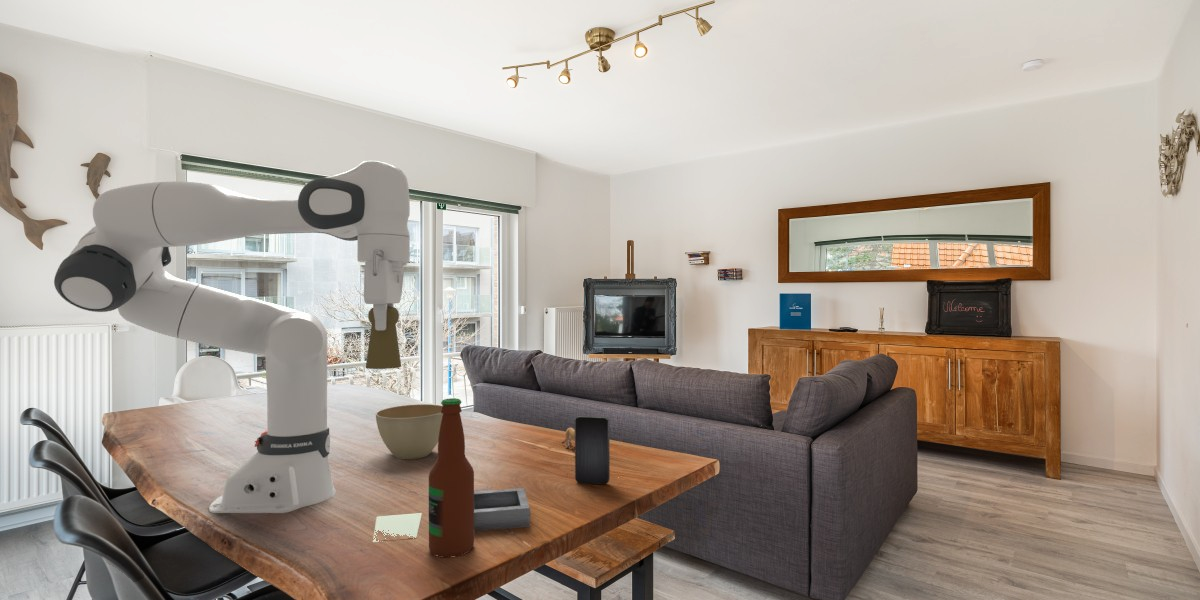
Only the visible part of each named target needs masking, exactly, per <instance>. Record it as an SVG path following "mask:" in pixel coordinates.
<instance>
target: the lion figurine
mask: <svg viewBox="0 0 1200 600" xmlns="http://www.w3.org/2000/svg"><path fill="white" fill-rule="evenodd" d="M571 441H573V442H575V428H573V427H568V428H567V429H566V431H565V439H564V440H563V441H561V444H562V445H564V444H565V449H569V448H570V447H569V446H572V442H571Z"/></svg>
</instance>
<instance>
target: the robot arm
mask: <svg viewBox="0 0 1200 600" xmlns="http://www.w3.org/2000/svg"><path fill="white" fill-rule="evenodd" d="M409 190H410V187H409V183H408V178H407V176H406V174H405V173H404V172H403V171H402V170H401V169H400V168H398V167H397V166H396V165H392V164H389V163H387V162H384V161H378V160H364V161H362V162H361V163H359V164H358V165H357V166H356V167H354V168H352V169H350V170H348V171H345V172H342V173H339V174H335V175H331V176H327V177H318V178H315V179H312V180H310V181H309V182H307V183H306V184H305V185H304V186H303V187H302V189H301V190H300V192H299V194H298V198H297V199H282V200H281V199H280V200H279V199H276V200H272V199H262V198H257V197H254V196H249V195H245V194H241V193H239V192H237V191H232V190H230V189H227V188H224V187H221V186H217V185H213V184H210V183H209V184H208V183H203V182H202V183H201V182H195V181H177V180H176V181H160V182H159V181H158V182H145V183H139V184H131V185H126V186H120V187H117V188H113V189H109V190H106V191H104V192H102V193H101V194H100V195H99V196H98V197H97V198H96V200H95V202H94V204H93V207H92V217H93V222H94V224H95V226H94V227H91V229H90V230H88V231H87V232H86V233H85V234H84V235H83V236H82V237H81V238H80V239H79V241H78V243H77V245H75V246H74V248H73V249H72V251H71V252H70V254H68V256H67V257H66V258H65V259H63V260H62V262H61V263H60V264H59V266H58V268H57V270H56V272H55V275H54V280H53V284H54V288H55V291H56V292H57V293H58V295H59V296H60V297H61V298H62V299H63V300H64V301H65V302H67V303H69V304H70V305H72V306H74V307H77V308H78V309H81V310H84V311H87V312H88V311H89V312H95V313H106V312H112V311H115V310H117V311H118V314H119V315H120V316H121V317H122V319H124V320H125V321H127V322H129V323H131V324H134V325H136V326H138V327H141V328H144V329H147V330H150V331H153V332H155V333H158V334H161V335H165V336H168V337H172V338H176V339H181V340H184V341H188V342H193V343H196V344H201V345H205V346H209V347H214V348H217V349H222V350H228V351H234V352H241V353H242V352H243V353H245V354H247V353H248V354H251V355H259V356H263V357H265V359H264V360H265V378H266V392H267V393H266V395H267V397H266V399H267V402H266V403H267V416H266V417H267V423H266V424H267V426H266V427H267V430H265V431H263V432H262V433H261V434H260V436H258V437H257V438H256V440H255V441H254V447H256V450H257V452H256V453H255V454H253V455H252V456H250V457H249V458H248V459H247V460H246V461H244V462H243V463H242V464H241V465H240V466H238V467H237V468H236V469H234V470H233V471H231V473H230V474H229V475H228V477H227V478H226V480H225V483H224V486H223V492H222V495H220V496H218V497H217V498H216V499H214V500H213V501H212V502H211V504H210V505H209V507H208V511H209V513H211V514H285V513H289V512H294V511H296V510H298V509H302V508H304V507H308V506H313V505H316V504H319V503H322V502H325V501H327V500H329V499H331V498H333V497H334V496H335V494H336V492H337V490H336V488H335V486H334V485H335V484H334V482H333V477H332V473H331V469H330V468H331V467H330V460H329V454H330V451H331V434H330V427H328V333H327V330H326V328H325V326H324V324H323V323H322V321H321V320H320V319H319V318H318V317H316V316H315V315H313V314H311V313H309V312H305V311H302V310H298V309H295V308H289V307H287V306H283V305H278V304H276V303H272V302H267V301H264V300H261V299H256V298H253V297H249V296H244V295H241V294H237V293H233V292H230V291H226V290H222V289H218V288H216V287H212V286H208V285H206V284H205V285H204V284H201V283H197V282H192V281H188V280H184V279H181V278H179V277H176V276H173V275H171V274H170V273H169V272H168V271H167V270H166V268H165V267H167V265H169V264H170V263H171V262H172V256H171V251H170V247H189V246H196V245H199V246H200V245H206V244H213V243H219V242H222V241H223V242H224V241H228V240H229V241H230V240H235V239H242V238H249V237H252V236H255V237H256V236H263V235H277V234H279V235H280V234H281V235H282V234H283V235H284V234H311V233H312V234H315V233H317V234H326V235H328V236H329V235H330V236H332V237H335V238H336V239H340V240H343V241H349V242H353V241H357V255H356V256H357V262H358V263H363V264H364V273H363V277H364V278H363V301H364V304H366V305H372V308H373V312H374V318H375V329H376V330H386V329H387V306H390V307H394V304H400V303H401V299H402V293H403V286H404V273H405V272H404V271H405V270H404V269H405V266H407V265H408V264H409V263H410V258H411V256H410V254H411V253H410V250H411V249H410V246H411V245H410V243H411V242H410V241H411V239H410V232H409V228H408V227H409V226H408V221H409V218H410V211H411V210H410V209H411V207H410V191H409Z"/></svg>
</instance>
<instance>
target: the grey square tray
mask: <svg viewBox="0 0 1200 600" xmlns="http://www.w3.org/2000/svg"><path fill="white" fill-rule="evenodd" d="M530 511H531V510H530V505H529V501H528V497H527V494H526V490H525V488H524V487H518V488H517V487H515V488H505V489H504V488H503V489H492V490H491V489H489V490H477V491H474V532H479V531H490V530H491V531H492V530H505V529H506V530H507V529H515V528H530V525H531V524H530V523H531V522H530V521H531V517H530V515H531V514H530V513H531V512H530Z"/></svg>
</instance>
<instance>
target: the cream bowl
mask: <svg viewBox="0 0 1200 600" xmlns="http://www.w3.org/2000/svg"><path fill="white" fill-rule="evenodd" d="M442 407H443V405H440V404H431V403H429V404H427V403H426V404H423V403H422V404H421V403H420V404H417V403H416V404H408V405H406V404H404V405H397V406H396V405H395V406H391V407H387V408H384V409H380V410H378V411H376V413H375V420H376V426H377V430H378V433H379V435H380V438H381V440H382V442H383V444H384V445H385V446H386V447H387V450H389V452H390V453H391V454H392V455H393V456H394V457H396V458H397V459H400V460H416V459H421V458H424V457H427V456H429V455H430V454H431V453H432V451H433V450H434V449H435V448H436V446H437V445H438V437H439V431H440V425H441V420H442V416H443V413H441V410H442Z"/></svg>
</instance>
